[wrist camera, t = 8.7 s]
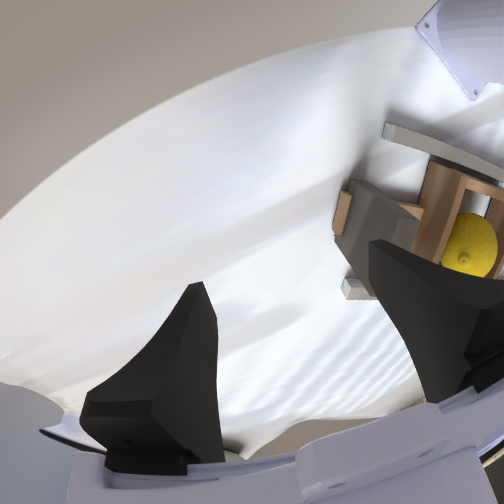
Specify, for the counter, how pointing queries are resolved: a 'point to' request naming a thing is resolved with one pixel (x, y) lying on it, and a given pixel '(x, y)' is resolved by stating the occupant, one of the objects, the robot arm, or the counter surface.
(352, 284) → the lane rails
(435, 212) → the wooden tray
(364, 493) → the robot arm
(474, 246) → the lemon
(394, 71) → the counter surface
